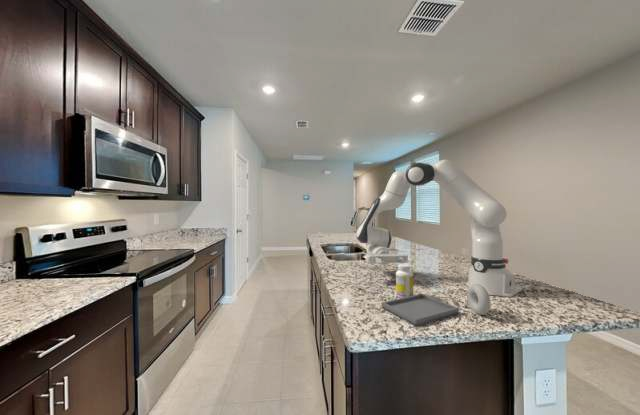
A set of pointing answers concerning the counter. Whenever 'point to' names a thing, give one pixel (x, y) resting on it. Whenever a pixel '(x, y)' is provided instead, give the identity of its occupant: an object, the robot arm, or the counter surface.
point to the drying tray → (419, 309)
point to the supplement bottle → (404, 281)
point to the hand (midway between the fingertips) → (392, 261)
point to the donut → (478, 299)
